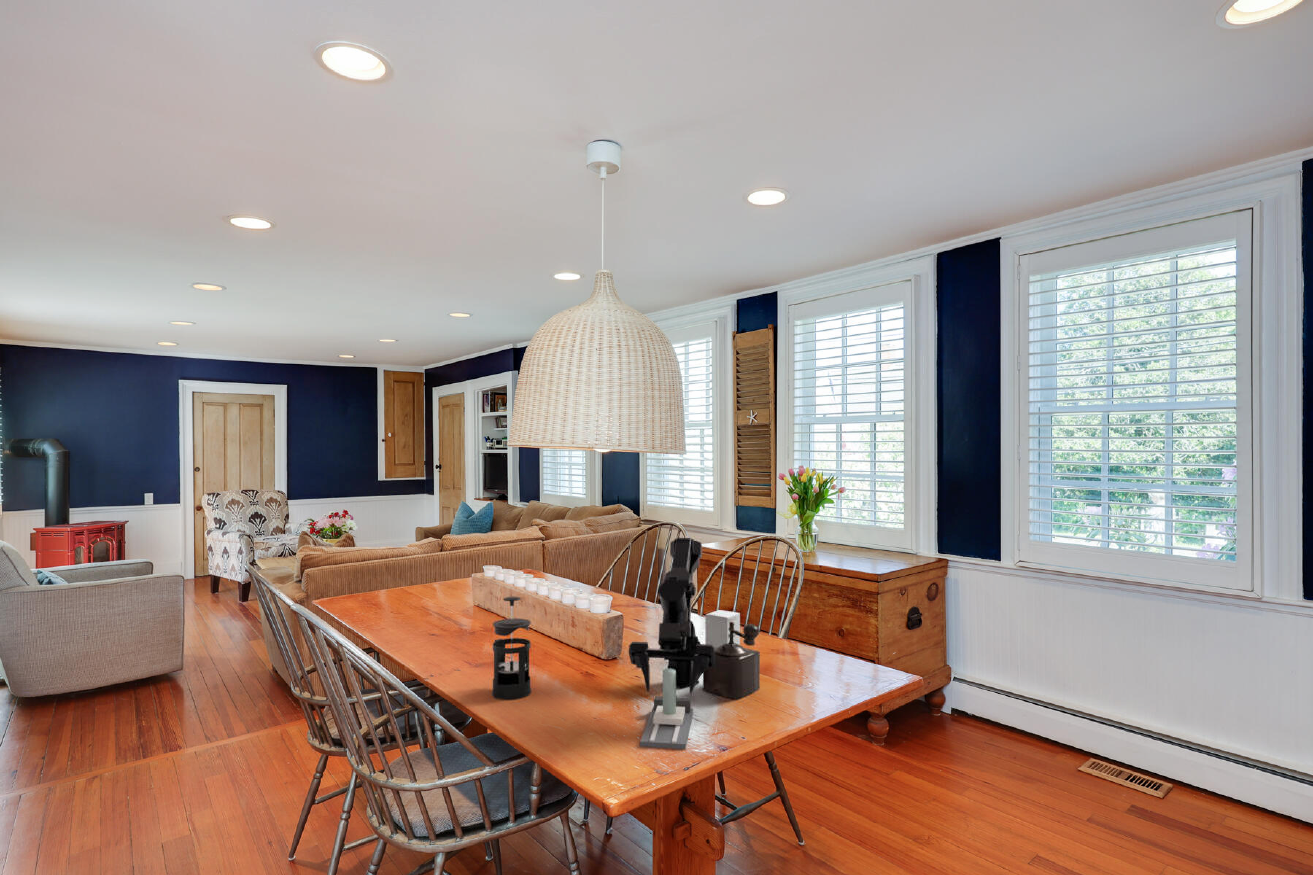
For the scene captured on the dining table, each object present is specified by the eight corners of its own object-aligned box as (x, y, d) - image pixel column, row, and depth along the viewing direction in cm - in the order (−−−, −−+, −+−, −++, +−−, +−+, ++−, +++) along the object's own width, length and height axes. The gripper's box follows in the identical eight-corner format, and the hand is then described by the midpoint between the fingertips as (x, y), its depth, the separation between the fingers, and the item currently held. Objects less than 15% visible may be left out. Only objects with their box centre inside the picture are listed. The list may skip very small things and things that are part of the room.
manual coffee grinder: (699, 691, 169) (699, 616, 169) (726, 679, 177) (726, 609, 178) (753, 706, 159) (753, 627, 159) (779, 693, 167) (778, 618, 167)
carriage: (657, 711, 152) (657, 665, 152) (684, 712, 151) (684, 666, 151) (653, 723, 145) (653, 675, 145) (681, 725, 144) (681, 676, 144)
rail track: (653, 710, 156) (653, 695, 156) (693, 712, 155) (693, 696, 155) (640, 746, 137) (640, 728, 137) (685, 749, 136) (685, 731, 136)
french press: (540, 693, 167) (540, 597, 168) (507, 703, 161) (507, 603, 161) (513, 682, 176) (513, 590, 176) (480, 691, 169) (480, 596, 169)
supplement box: (727, 663, 190) (727, 617, 191) (704, 658, 195) (704, 613, 195) (740, 657, 196) (740, 612, 197) (718, 652, 201) (718, 608, 201)
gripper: (629, 605, 154) (620, 671, 143) (714, 607, 152) (711, 674, 141) (635, 631, 162) (627, 695, 151) (715, 634, 159) (713, 699, 148)
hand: (669, 691), depth 147 cm, fingers open, 9 cm apart
